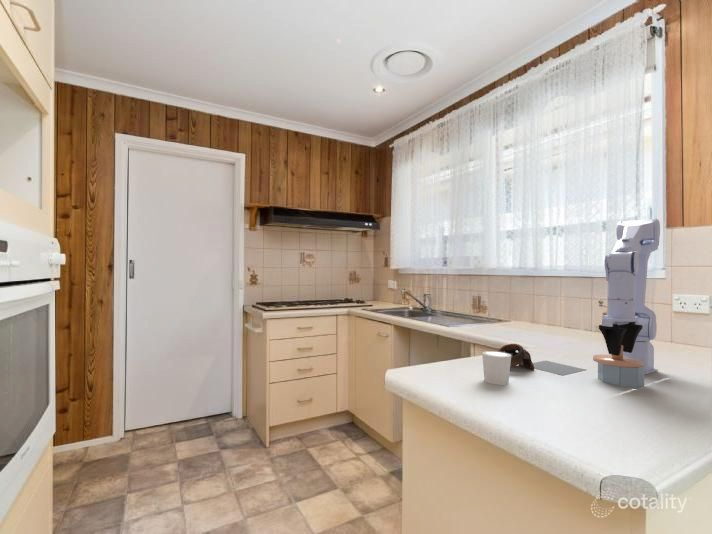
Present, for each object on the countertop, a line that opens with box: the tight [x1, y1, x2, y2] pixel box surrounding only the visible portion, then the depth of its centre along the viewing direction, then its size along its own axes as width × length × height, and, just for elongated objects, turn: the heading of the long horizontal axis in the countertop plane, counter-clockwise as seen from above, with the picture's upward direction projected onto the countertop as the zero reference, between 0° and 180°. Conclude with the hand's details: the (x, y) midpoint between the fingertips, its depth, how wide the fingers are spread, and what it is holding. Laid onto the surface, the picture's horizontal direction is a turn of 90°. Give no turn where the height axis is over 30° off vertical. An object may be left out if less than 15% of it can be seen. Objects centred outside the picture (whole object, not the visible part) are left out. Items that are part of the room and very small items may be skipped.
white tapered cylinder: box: [481, 350, 511, 385], centre depth 93 cm, size 7×7×7 cm
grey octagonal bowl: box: [597, 362, 645, 390], centre depth 93 cm, size 9×9×5 cm
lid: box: [592, 345, 643, 368], centre depth 94 cm, size 10×10×4 cm
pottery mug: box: [497, 343, 535, 371], centre depth 105 cm, size 12×9×8 cm
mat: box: [532, 360, 587, 376], centre depth 106 cm, size 12×12×1 cm
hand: (620, 353), depth 93 cm, fingers open, 6 cm apart
